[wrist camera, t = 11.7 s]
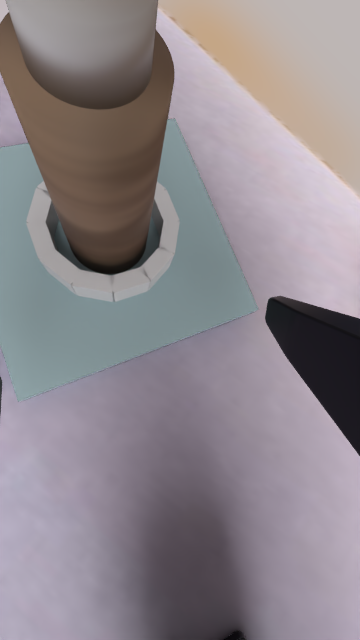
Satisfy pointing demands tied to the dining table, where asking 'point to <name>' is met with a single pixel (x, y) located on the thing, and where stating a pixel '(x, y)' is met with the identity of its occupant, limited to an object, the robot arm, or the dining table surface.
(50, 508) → the dining table surface
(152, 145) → the pepper mill
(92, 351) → the board
